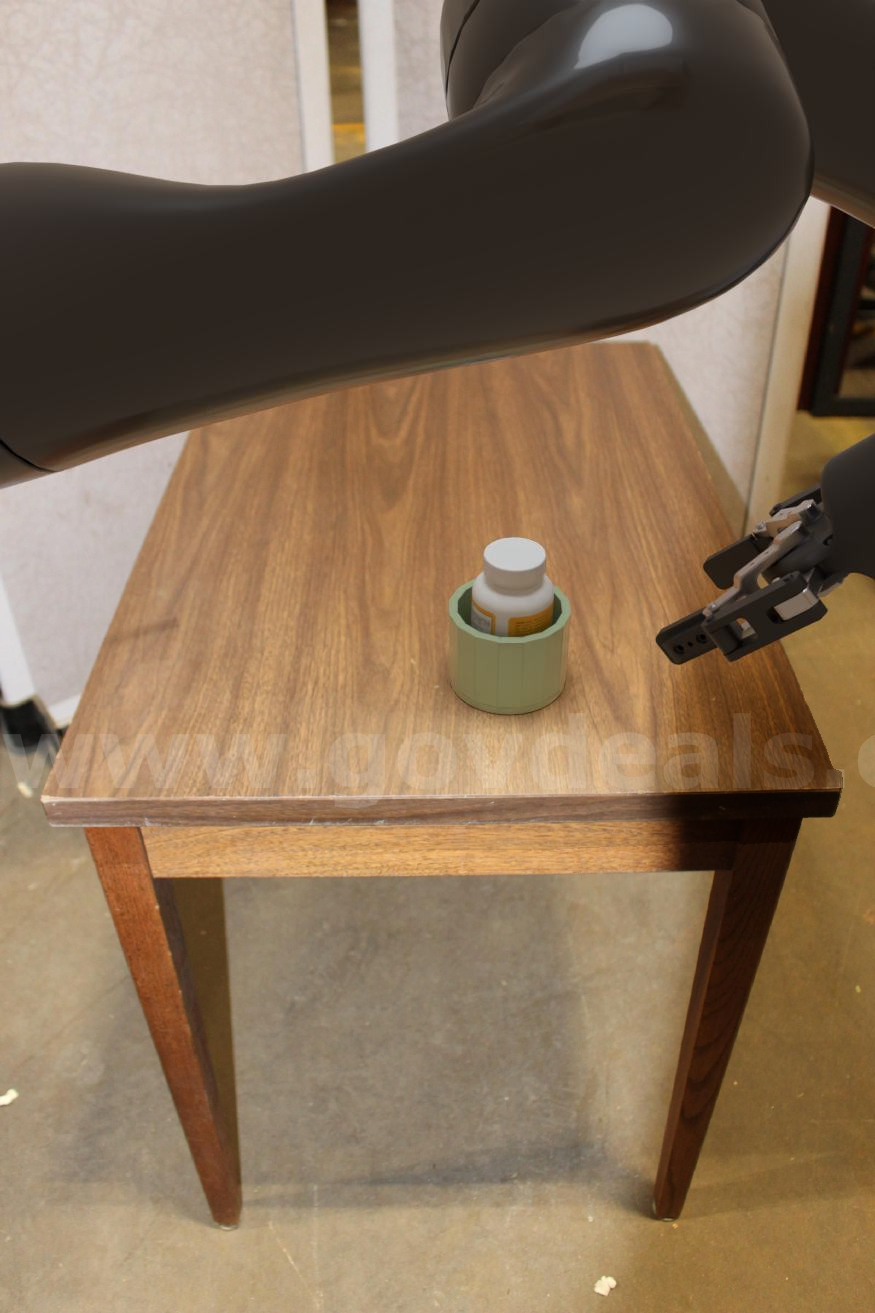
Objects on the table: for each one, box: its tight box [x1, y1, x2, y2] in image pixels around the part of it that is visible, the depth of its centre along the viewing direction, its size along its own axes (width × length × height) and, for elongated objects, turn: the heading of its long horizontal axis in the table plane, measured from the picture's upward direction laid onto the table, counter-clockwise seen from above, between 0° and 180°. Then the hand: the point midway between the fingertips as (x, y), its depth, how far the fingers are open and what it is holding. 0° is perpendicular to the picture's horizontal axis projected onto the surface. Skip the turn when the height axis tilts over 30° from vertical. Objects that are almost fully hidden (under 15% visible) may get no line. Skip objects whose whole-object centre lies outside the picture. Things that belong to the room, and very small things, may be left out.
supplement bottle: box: [471, 536, 554, 637], centre depth 70 cm, size 5×5×10 cm
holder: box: [448, 577, 572, 716], centre depth 72 cm, size 8×8×6 cm
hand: (689, 611), depth 63 cm, fingers open, 8 cm apart
